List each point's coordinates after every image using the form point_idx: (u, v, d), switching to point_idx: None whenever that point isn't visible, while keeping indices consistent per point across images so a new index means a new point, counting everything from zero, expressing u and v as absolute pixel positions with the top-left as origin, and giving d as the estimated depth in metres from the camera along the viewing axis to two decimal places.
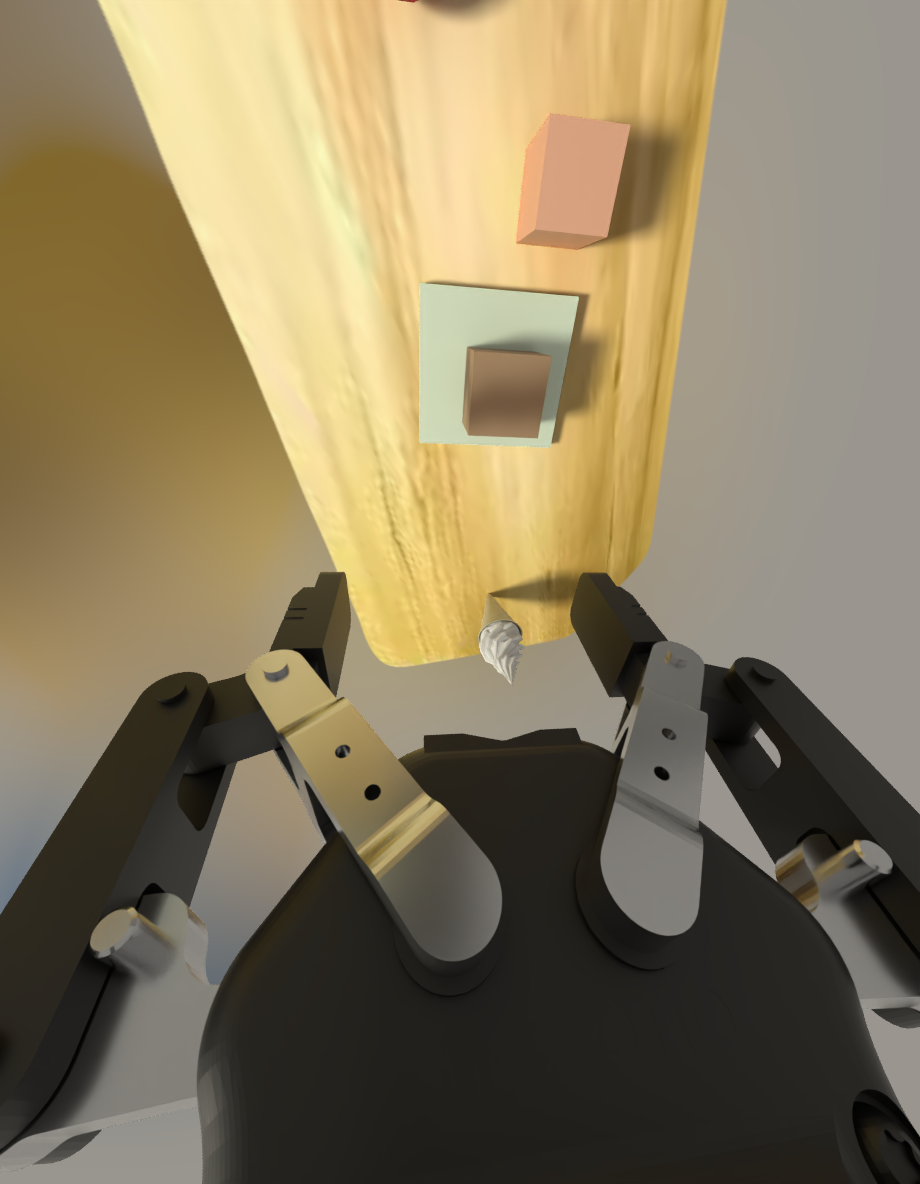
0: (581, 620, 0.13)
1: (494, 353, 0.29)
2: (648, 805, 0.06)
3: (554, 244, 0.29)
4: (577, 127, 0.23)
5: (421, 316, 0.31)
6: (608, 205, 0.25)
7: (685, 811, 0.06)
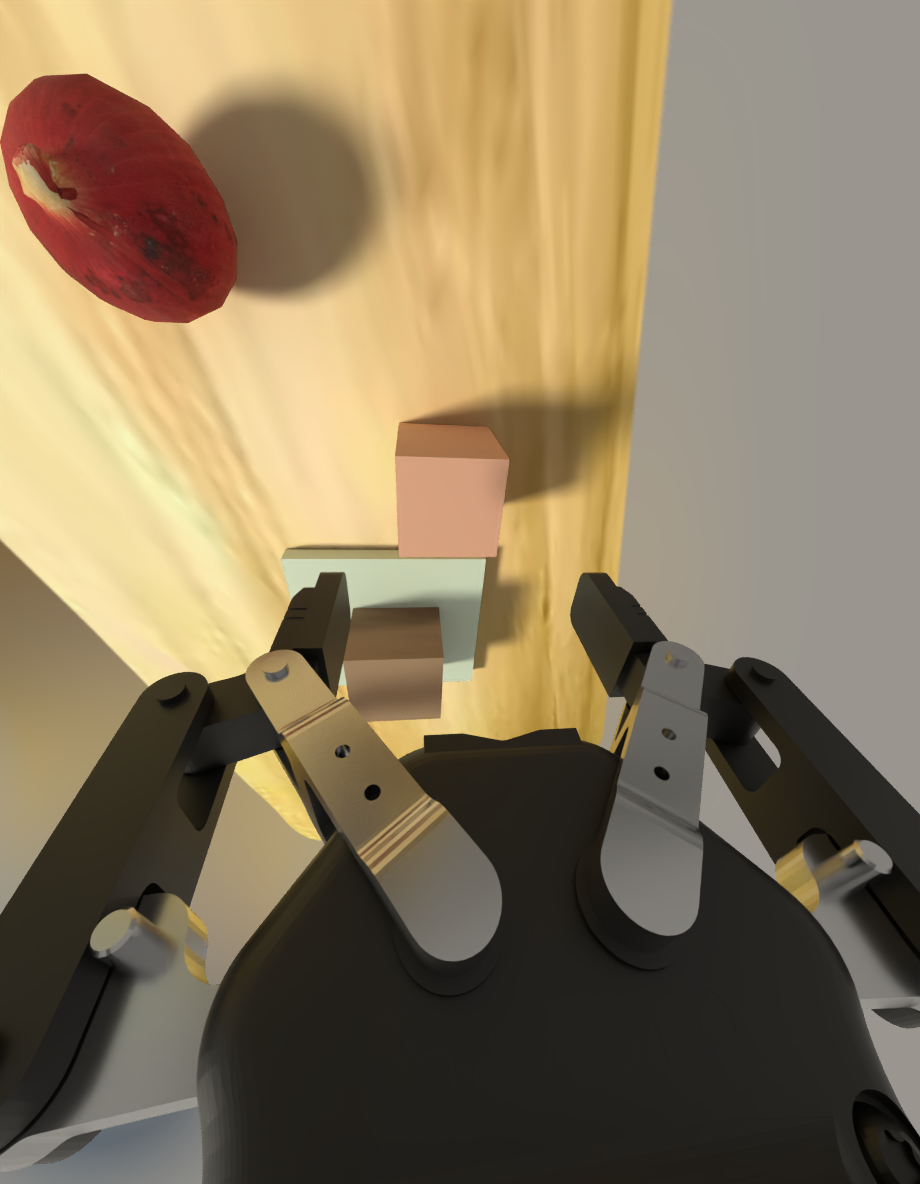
0: (581, 620, 0.13)
1: (369, 660, 0.23)
2: (648, 805, 0.06)
3: None
4: (436, 466, 0.17)
5: (290, 586, 0.25)
6: (492, 531, 0.19)
7: (685, 811, 0.06)
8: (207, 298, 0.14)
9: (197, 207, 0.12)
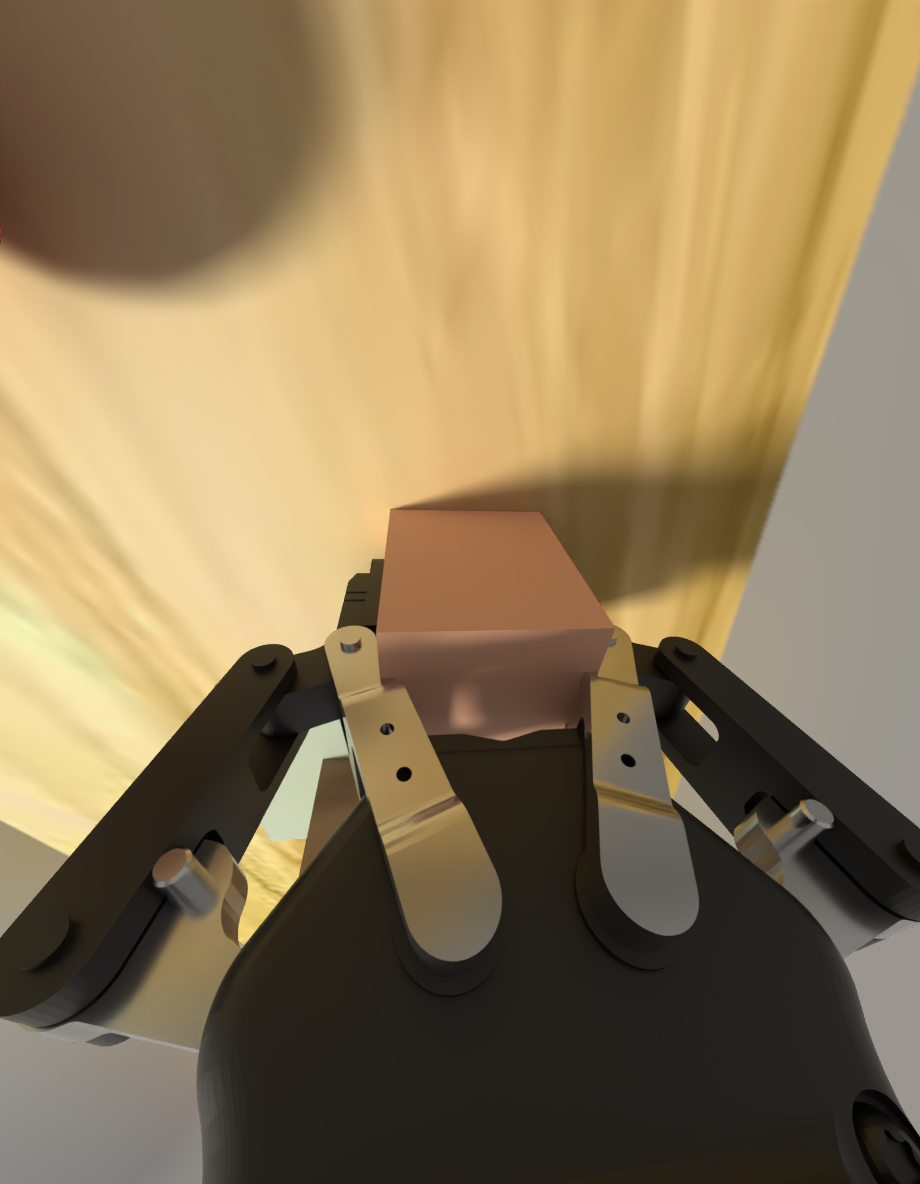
0: None
1: None
2: (648, 805, 0.06)
3: None
4: (463, 645, 0.08)
5: None
6: None
7: (658, 793, 0.06)
8: None
9: None
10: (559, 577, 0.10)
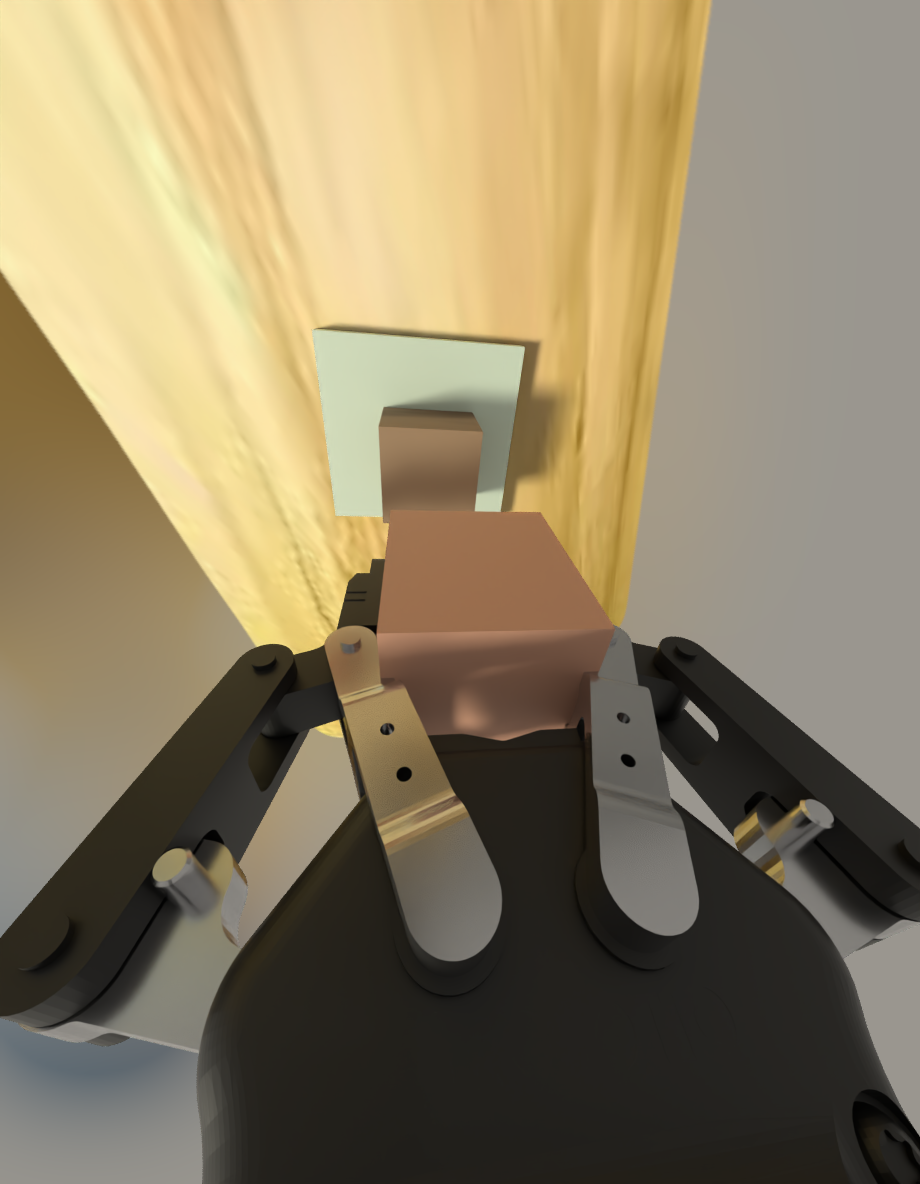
0: None
1: (406, 428, 0.22)
2: (648, 805, 0.06)
3: None
4: (463, 646, 0.08)
5: (319, 370, 0.24)
6: None
7: (658, 793, 0.06)
8: None
9: None
10: (559, 578, 0.10)
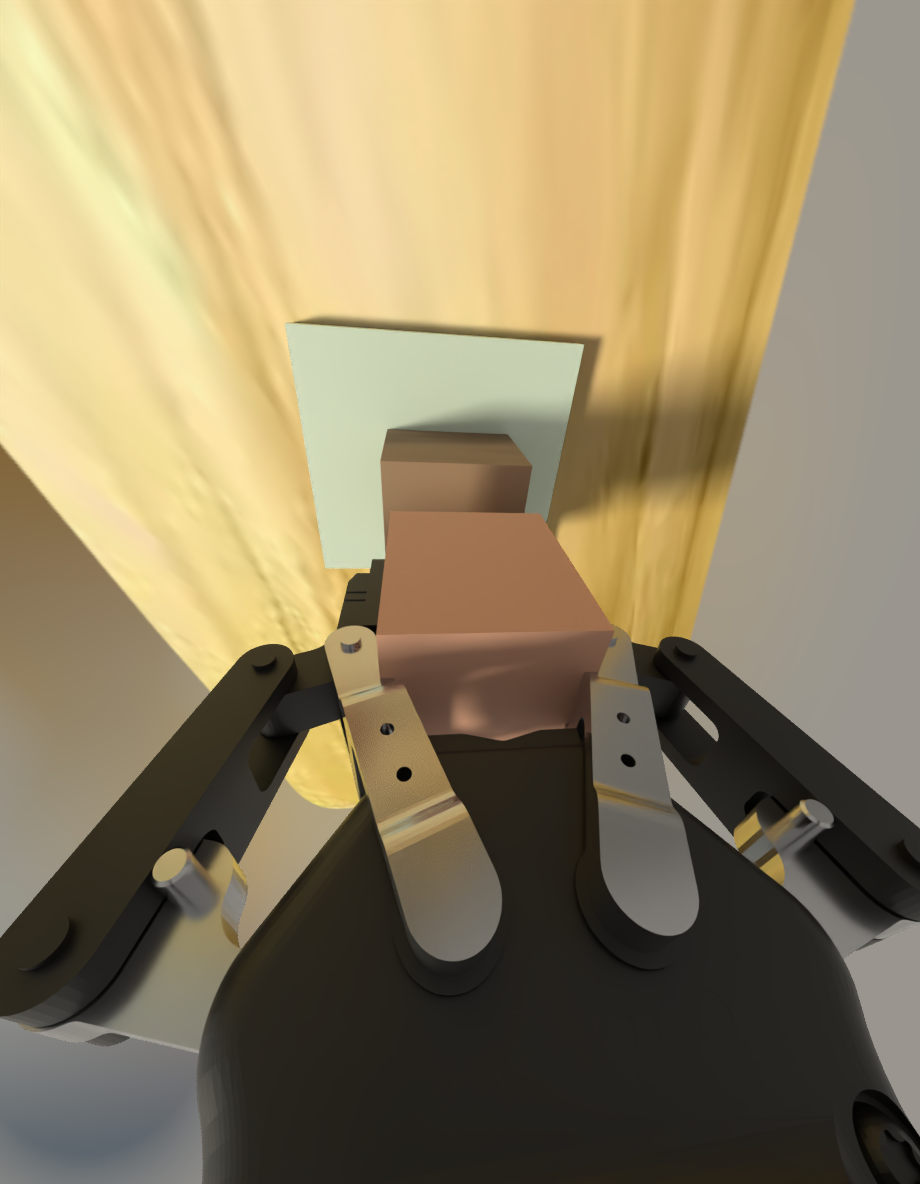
0: None
1: (420, 463, 0.15)
2: (648, 805, 0.06)
3: None
4: (463, 647, 0.08)
5: (297, 381, 0.17)
6: None
7: (658, 793, 0.06)
8: None
9: None
10: (559, 579, 0.10)
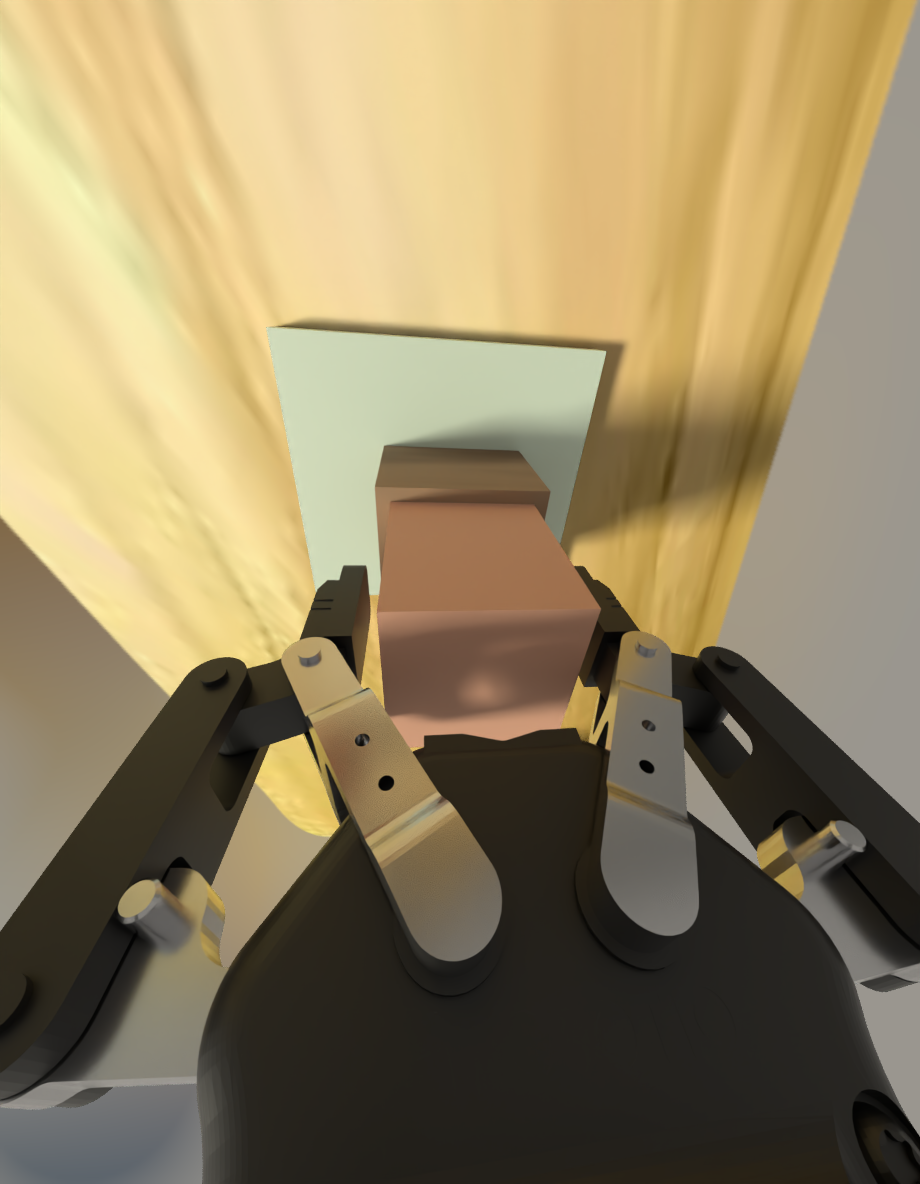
0: None
1: (421, 489, 0.13)
2: (648, 805, 0.06)
3: None
4: (458, 625, 0.09)
5: (282, 392, 0.15)
6: (554, 708, 0.11)
7: (673, 802, 0.06)
8: None
9: None
10: (550, 563, 0.10)
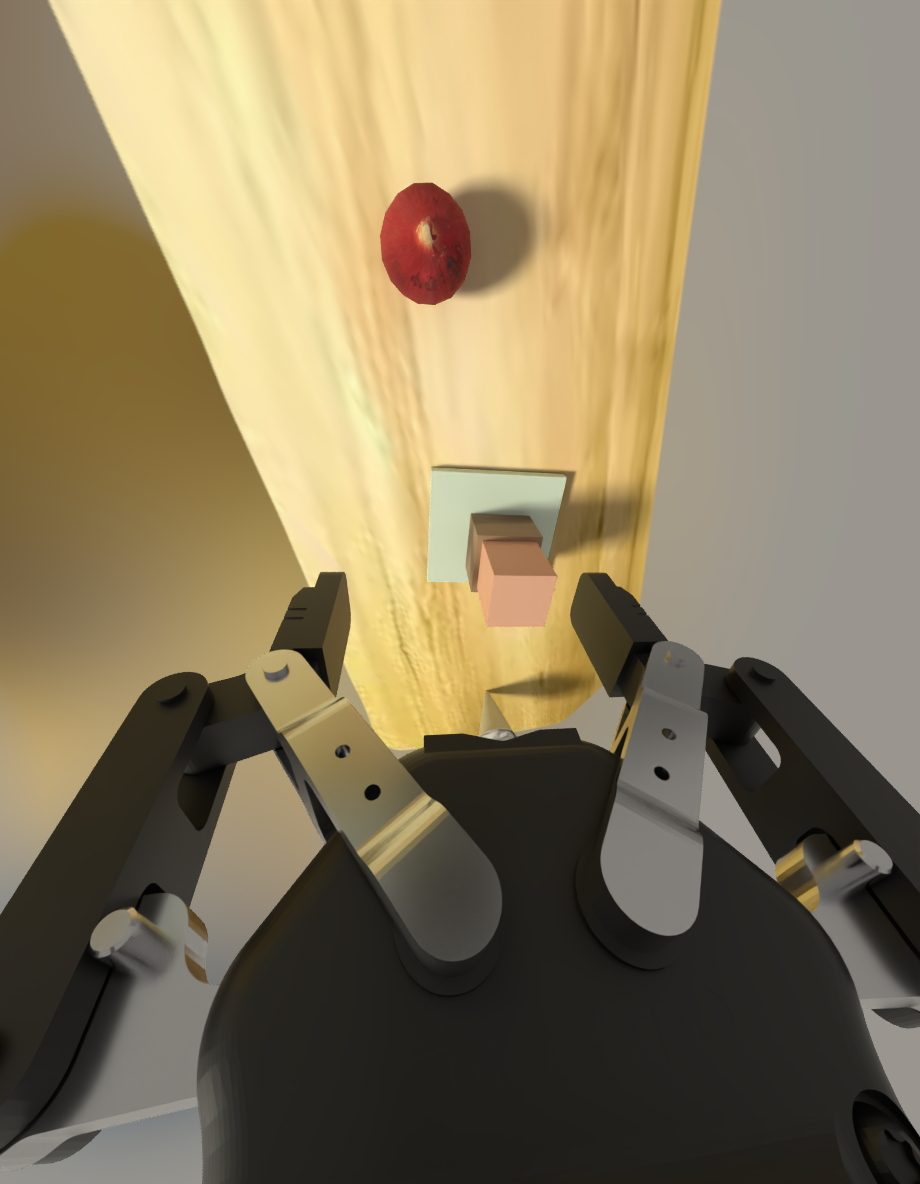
0: (581, 620, 0.13)
1: (494, 536, 0.34)
2: (648, 805, 0.06)
3: None
4: (516, 580, 0.30)
5: (432, 493, 0.37)
6: (544, 612, 0.32)
7: (685, 811, 0.06)
8: (454, 290, 0.26)
9: (467, 244, 0.24)
10: (542, 563, 0.31)
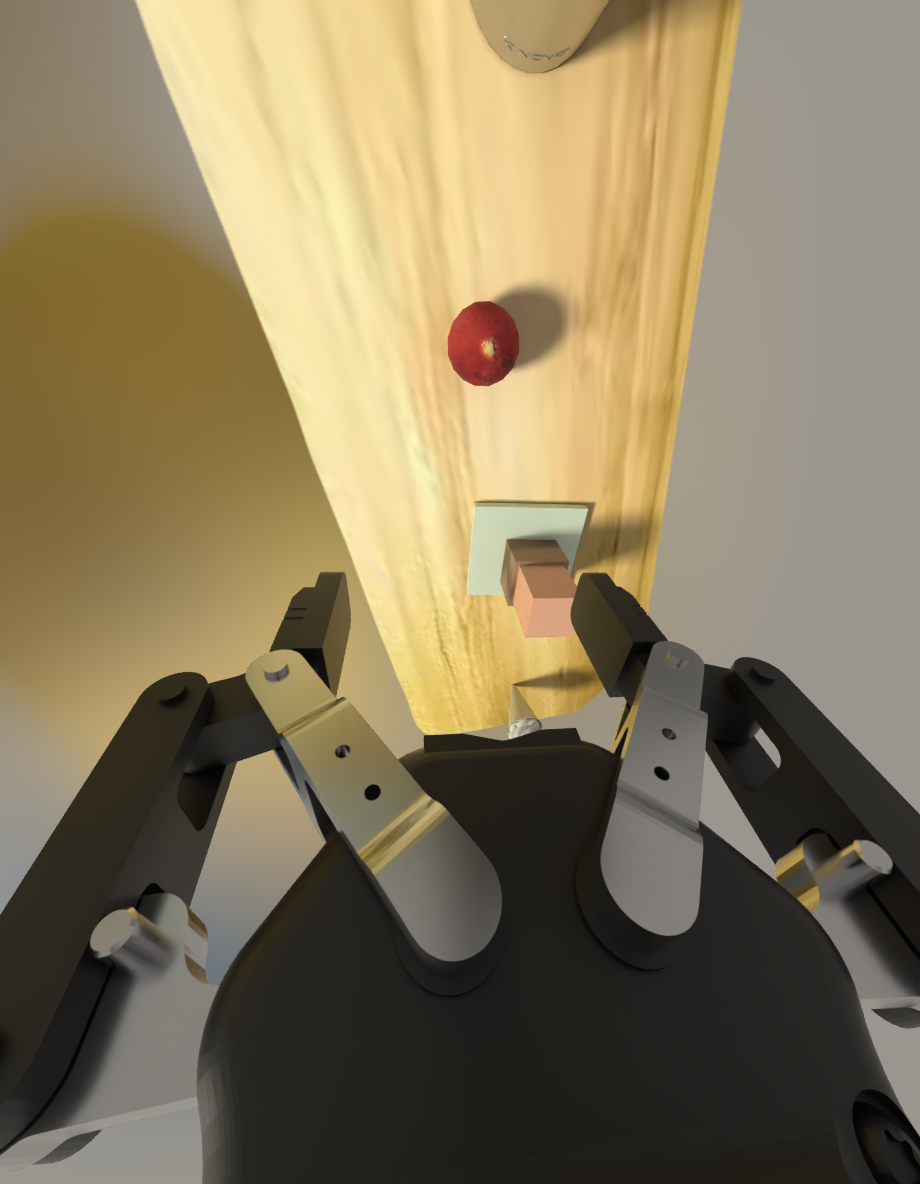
0: (581, 620, 0.13)
1: (529, 561, 0.41)
2: (648, 805, 0.06)
3: None
4: (550, 601, 0.37)
5: (475, 524, 0.44)
6: (571, 625, 0.39)
7: (685, 811, 0.06)
8: (504, 376, 0.32)
9: (517, 345, 0.31)
10: (570, 586, 0.39)
